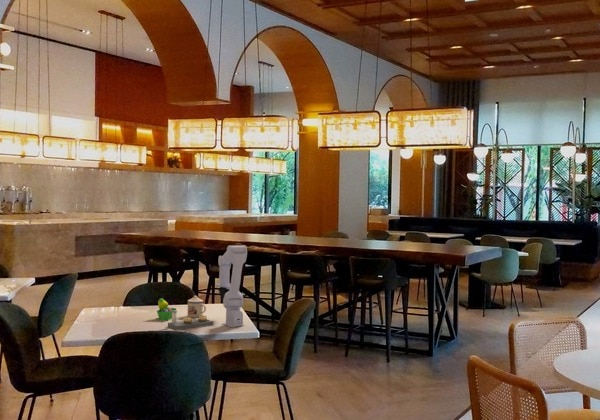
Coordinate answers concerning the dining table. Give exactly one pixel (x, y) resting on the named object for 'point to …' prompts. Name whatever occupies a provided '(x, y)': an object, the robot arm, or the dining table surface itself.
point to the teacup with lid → (195, 307)
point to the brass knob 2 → (202, 318)
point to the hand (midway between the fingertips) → (223, 300)
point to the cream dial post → (174, 316)
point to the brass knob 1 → (187, 320)
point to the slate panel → (190, 324)
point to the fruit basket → (164, 310)
